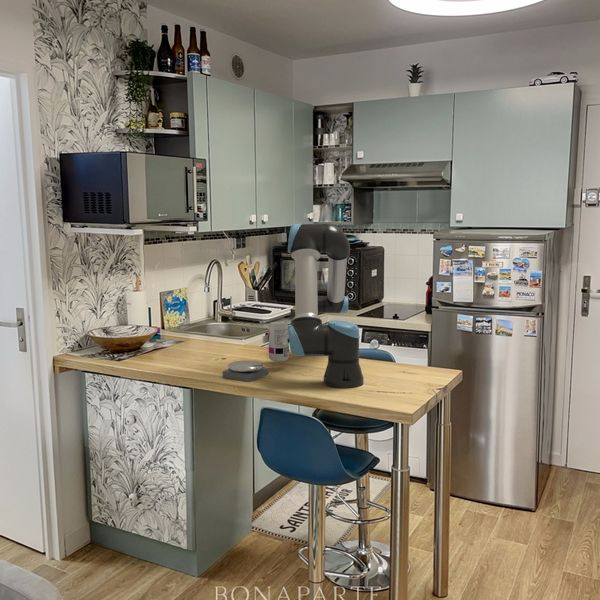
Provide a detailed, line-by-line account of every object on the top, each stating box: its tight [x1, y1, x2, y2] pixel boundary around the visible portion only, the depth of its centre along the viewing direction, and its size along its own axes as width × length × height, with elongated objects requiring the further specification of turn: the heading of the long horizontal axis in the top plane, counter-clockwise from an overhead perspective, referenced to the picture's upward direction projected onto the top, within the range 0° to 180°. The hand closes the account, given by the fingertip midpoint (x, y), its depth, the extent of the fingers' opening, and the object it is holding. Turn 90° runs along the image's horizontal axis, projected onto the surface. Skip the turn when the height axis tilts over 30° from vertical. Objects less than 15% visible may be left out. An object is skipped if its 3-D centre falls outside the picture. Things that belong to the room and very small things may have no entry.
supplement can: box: [267, 321, 290, 362], centre depth 260 cm, size 8×8×15 cm
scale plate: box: [227, 359, 265, 373], centre depth 252 cm, size 14×14×4 cm
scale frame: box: [222, 366, 270, 383], centre depth 252 cm, size 13×13×3 cm
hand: (273, 341), depth 255 cm, fingers closed on supplement can, 8 cm apart
